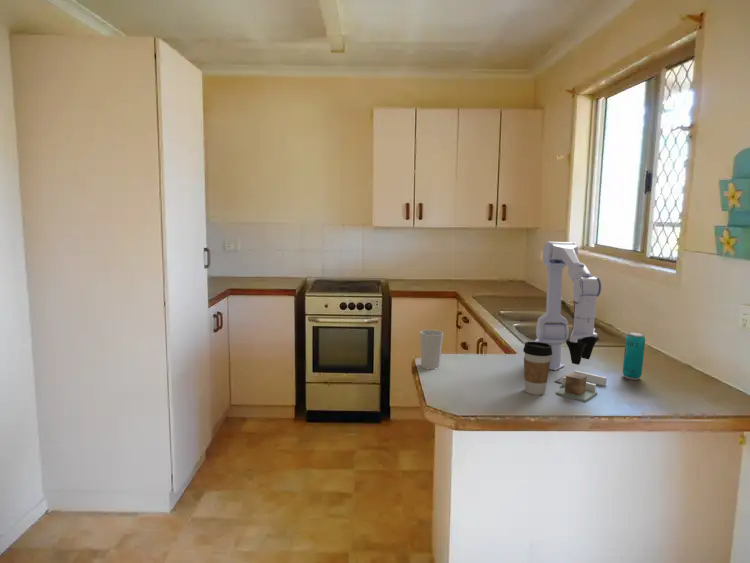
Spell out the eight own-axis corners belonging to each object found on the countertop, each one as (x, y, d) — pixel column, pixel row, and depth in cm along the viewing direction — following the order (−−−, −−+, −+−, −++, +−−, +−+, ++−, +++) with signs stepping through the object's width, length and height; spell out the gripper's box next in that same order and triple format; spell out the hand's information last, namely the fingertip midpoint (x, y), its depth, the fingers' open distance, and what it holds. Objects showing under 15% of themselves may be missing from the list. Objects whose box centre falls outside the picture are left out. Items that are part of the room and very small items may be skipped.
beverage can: (624, 373, 183) (629, 330, 181) (643, 377, 180) (647, 333, 177) (620, 377, 179) (624, 333, 177) (638, 381, 175) (643, 336, 173)
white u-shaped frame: (553, 382, 173) (553, 375, 172) (566, 375, 180) (566, 368, 180) (594, 392, 164) (595, 385, 164) (605, 385, 171) (606, 377, 171)
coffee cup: (514, 388, 166) (518, 341, 164) (537, 385, 169) (541, 339, 167) (531, 397, 159) (535, 348, 156) (555, 394, 162) (559, 346, 159)
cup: (446, 368, 184) (447, 334, 182) (425, 371, 181) (426, 336, 179) (435, 362, 191) (436, 329, 190) (414, 364, 188) (416, 330, 187)
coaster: (555, 394, 162) (555, 392, 162) (567, 386, 169) (568, 385, 169) (585, 402, 156) (585, 400, 156) (597, 394, 163) (597, 392, 163)
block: (564, 391, 163) (565, 375, 162) (570, 388, 166) (571, 372, 165) (579, 395, 160) (580, 379, 159) (585, 391, 163) (586, 375, 162)
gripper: (588, 323, 153) (584, 369, 155) (606, 315, 163) (602, 359, 166) (564, 319, 157) (560, 363, 160) (583, 312, 168) (580, 354, 170)
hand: (580, 361), depth 163 cm, fingers open, 7 cm apart
